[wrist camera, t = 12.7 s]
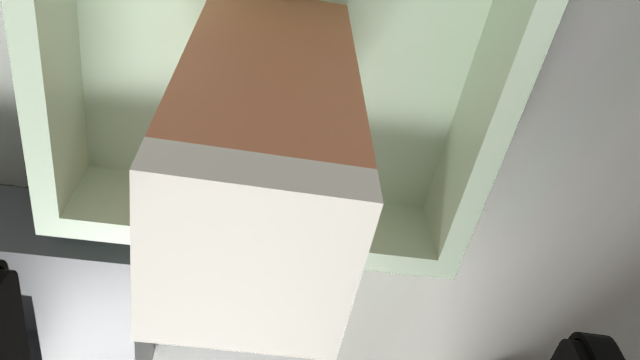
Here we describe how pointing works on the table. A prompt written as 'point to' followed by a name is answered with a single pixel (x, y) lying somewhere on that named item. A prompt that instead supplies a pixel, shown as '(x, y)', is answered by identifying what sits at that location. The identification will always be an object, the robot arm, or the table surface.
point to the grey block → (69, 289)
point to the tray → (378, 88)
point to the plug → (255, 185)
